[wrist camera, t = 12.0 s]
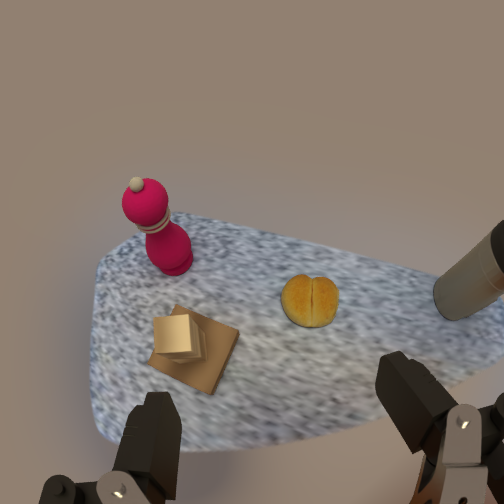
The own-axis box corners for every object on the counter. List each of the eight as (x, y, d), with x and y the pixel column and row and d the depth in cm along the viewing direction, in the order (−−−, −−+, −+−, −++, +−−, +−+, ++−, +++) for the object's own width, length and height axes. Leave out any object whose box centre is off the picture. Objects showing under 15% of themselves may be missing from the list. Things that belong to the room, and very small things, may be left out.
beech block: (204, 333, 37) (188, 314, 29) (207, 361, 35) (191, 350, 27) (177, 336, 37) (153, 317, 28) (179, 363, 35) (154, 353, 26)
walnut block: (239, 334, 40) (238, 330, 38) (213, 394, 36) (210, 394, 33) (181, 310, 42) (175, 304, 39) (154, 366, 38) (147, 363, 35)
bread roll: (283, 275, 45) (286, 264, 41) (337, 283, 44) (343, 273, 41) (276, 324, 41) (278, 317, 38) (333, 331, 40) (341, 325, 37)
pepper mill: (204, 259, 46) (175, 176, 29) (171, 287, 44) (121, 215, 26) (179, 234, 49) (145, 150, 31) (148, 259, 47) (98, 183, 29)
